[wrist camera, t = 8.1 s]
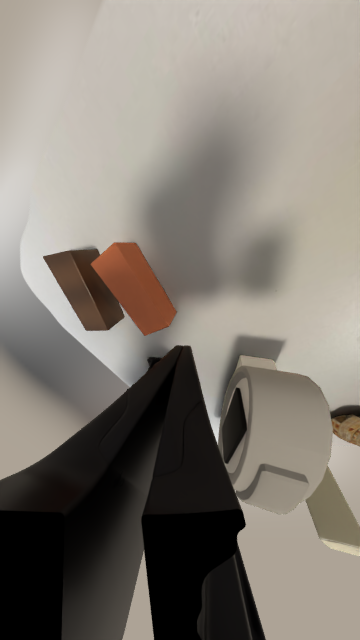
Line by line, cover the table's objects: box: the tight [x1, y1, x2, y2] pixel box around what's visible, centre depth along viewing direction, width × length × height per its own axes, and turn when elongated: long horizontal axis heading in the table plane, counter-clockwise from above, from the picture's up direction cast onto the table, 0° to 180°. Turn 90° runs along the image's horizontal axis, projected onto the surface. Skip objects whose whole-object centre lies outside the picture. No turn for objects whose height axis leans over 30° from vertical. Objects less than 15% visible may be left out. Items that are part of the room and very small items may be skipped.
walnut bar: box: [43, 249, 124, 331], centre depth 18 cm, size 10×4×4 cm, turn 9°
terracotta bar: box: [91, 243, 176, 336], centre depth 16 cm, size 10×4×4 cm, turn 30°
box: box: [306, 465, 360, 556], centre depth 20 cm, size 5×4×13 cm
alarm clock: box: [218, 355, 333, 514], centre depth 19 cm, size 23×6×13 cm, turn 0°
